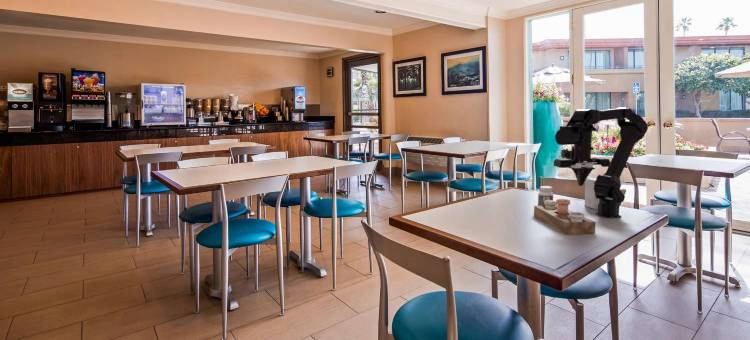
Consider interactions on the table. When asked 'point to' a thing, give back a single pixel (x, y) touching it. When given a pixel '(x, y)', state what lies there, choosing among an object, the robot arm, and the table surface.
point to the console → (564, 221)
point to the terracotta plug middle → (562, 206)
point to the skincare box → (590, 194)
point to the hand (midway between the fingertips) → (580, 185)
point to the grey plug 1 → (550, 204)
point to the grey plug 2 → (576, 216)
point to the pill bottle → (544, 195)
